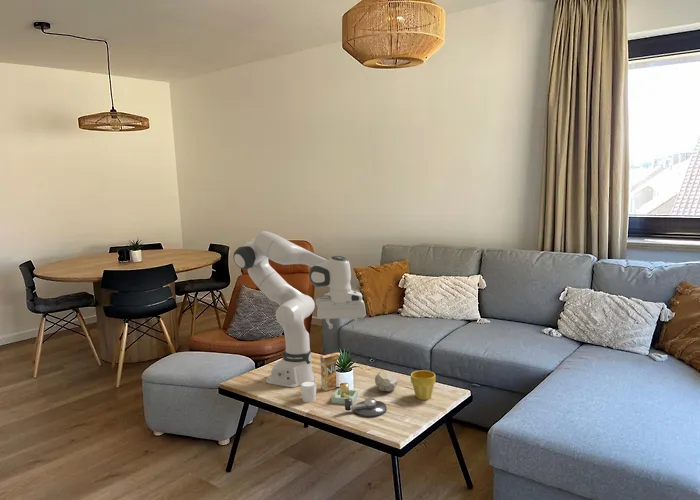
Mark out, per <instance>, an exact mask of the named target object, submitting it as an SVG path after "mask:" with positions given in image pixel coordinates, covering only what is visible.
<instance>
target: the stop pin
mask: <svg viewBox="0 0 700 500" xmlns="http://www.w3.org/2000/svg"><path fill="white" fill-rule="evenodd" d="M339 389H340V398H349V390H350V389H349V383H348V382H343V383H341V384H340V388H339Z"/></svg>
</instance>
